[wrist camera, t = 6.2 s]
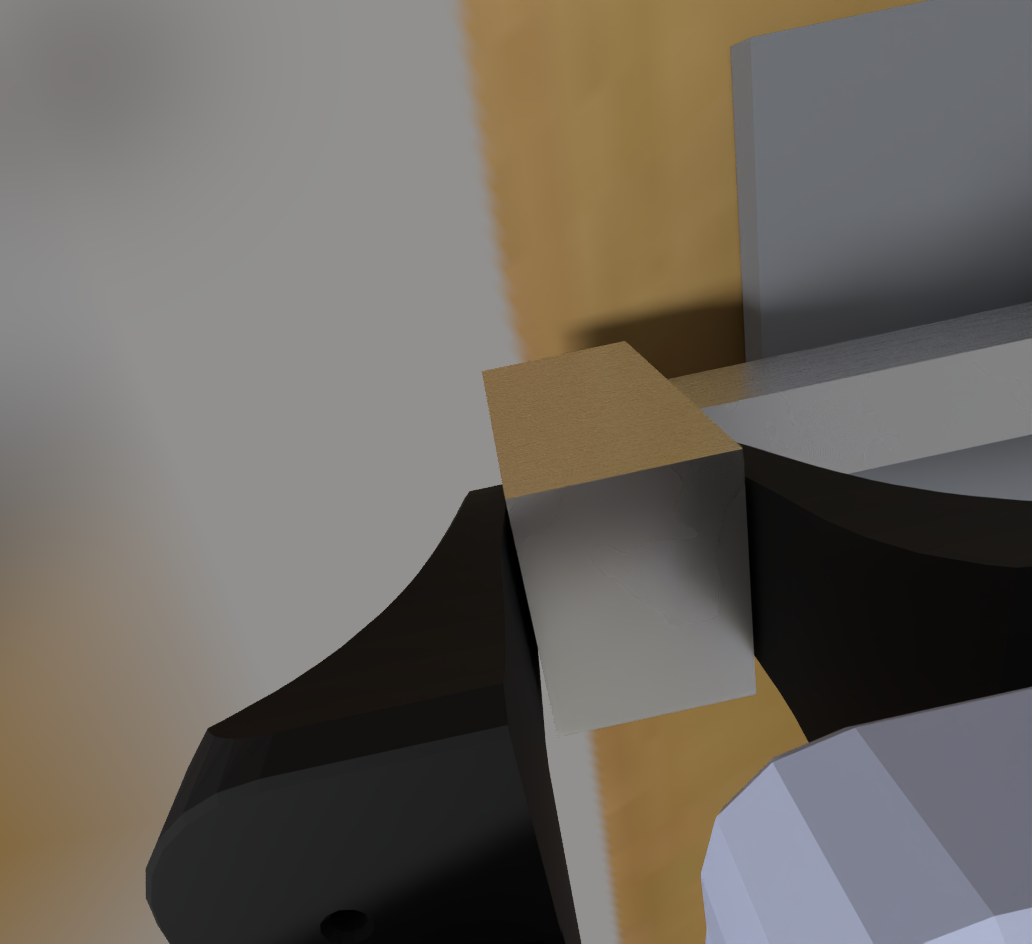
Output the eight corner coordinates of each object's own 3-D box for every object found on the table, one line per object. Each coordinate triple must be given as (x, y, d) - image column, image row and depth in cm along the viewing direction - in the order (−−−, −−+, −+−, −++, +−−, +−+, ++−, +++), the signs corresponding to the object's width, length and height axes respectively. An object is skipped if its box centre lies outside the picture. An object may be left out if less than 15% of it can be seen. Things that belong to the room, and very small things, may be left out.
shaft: (1079, 417, 16) (1424, 548, 10) (518, 538, 15) (558, 738, 10) (1110, 238, 14) (1543, 277, 8) (481, 371, 14) (504, 499, 8)
